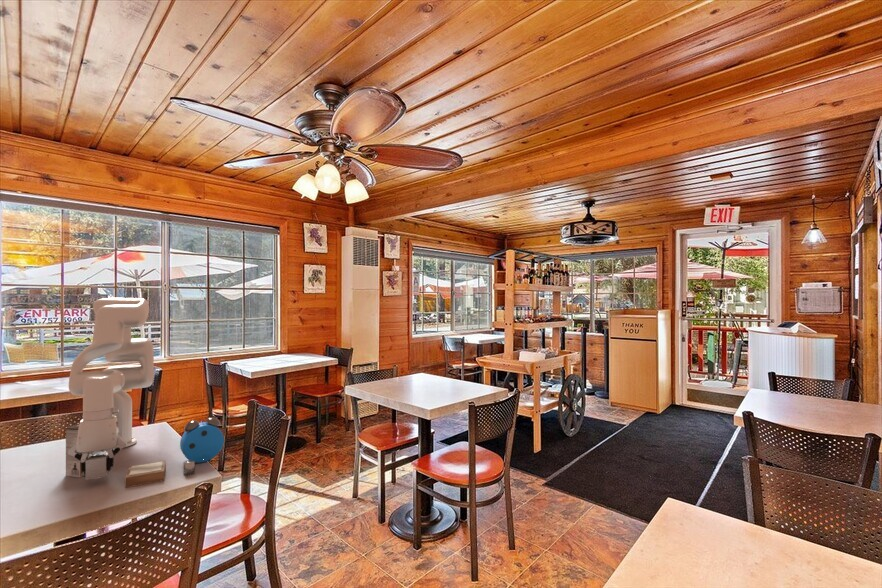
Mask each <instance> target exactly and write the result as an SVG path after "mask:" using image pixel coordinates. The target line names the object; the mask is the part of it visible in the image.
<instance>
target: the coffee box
mask: <svg viewBox="0 0 882 588" xmlns="http://www.w3.org/2000/svg"><path fill="white" fill-rule="evenodd" d="M79 424H80V423H78V424H75V425H71V426H67V427H66V428H65V476H66V477H72V478H73V477H74V478H83V477H84V476H85V477H86V475H84V471H83V472H82V462H80V460H78V459H76V458H75V457H74V456H71V455H69V454H68V451H69V450H70V449H71V448H72V447H73V446H74V445H75V444H76V443H77V436H78V429H79ZM76 451H77V449H76ZM102 451H107V450H102ZM95 452H100V451H95ZM90 453H93V452H89V454H90ZM81 454H83V453H81ZM89 454H88V456H89ZM88 456H87V458H88Z"/></svg>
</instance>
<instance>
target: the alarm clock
mask: <svg viewBox="0 0 882 588" xmlns="http://www.w3.org/2000/svg"><path fill="white" fill-rule="evenodd" d="M220 425H221V422H220V420H219V419H218V418H217V417H216V416H215V417H208V418H207V419H206V420H204V419H203V420H200V422H199V420H194V419H193V420H189V421H188V422H187V423H186V424H185V425H184V428H183V430H184V432H183V434H182V436H181V438H180V442H179V448H180V450H181V452H182V454H183V456H184V458H186V459H187V461H188V460H195V464H196V463H197V464H198V463H200V464H201V463H206V462H208V461H210V460H212V459H214V458H215V457H216V456H217V455H218V454H220V452H221V451H222V449H223V446H224V442H225V440H224V439H225V438H224V434H223V432H222V430H221V429H220V428H219V426H220ZM203 459H204V460H203ZM205 461H206V462H205Z"/></svg>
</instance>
